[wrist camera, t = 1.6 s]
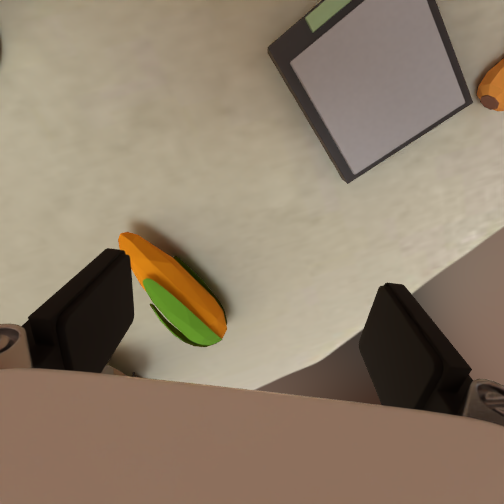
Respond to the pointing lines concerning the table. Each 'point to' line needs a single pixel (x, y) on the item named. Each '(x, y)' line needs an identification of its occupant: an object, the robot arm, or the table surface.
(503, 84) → the carrot
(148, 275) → the corn
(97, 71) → the table surface
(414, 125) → the scale
